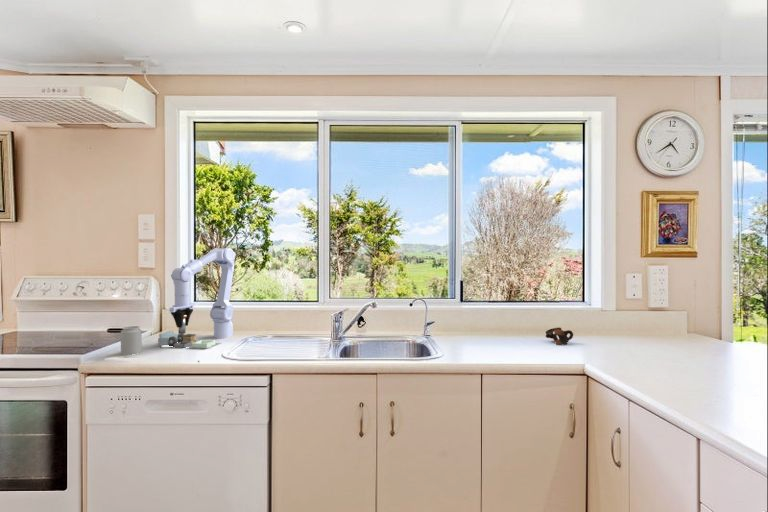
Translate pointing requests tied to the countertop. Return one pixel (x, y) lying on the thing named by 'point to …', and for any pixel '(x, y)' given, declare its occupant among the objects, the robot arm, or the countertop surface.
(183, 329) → the pin
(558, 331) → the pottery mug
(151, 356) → the countertop surface
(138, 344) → the can
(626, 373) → the countertop surface
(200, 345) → the tray
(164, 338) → the trolley
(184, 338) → the wooden cube
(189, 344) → the ramp board
